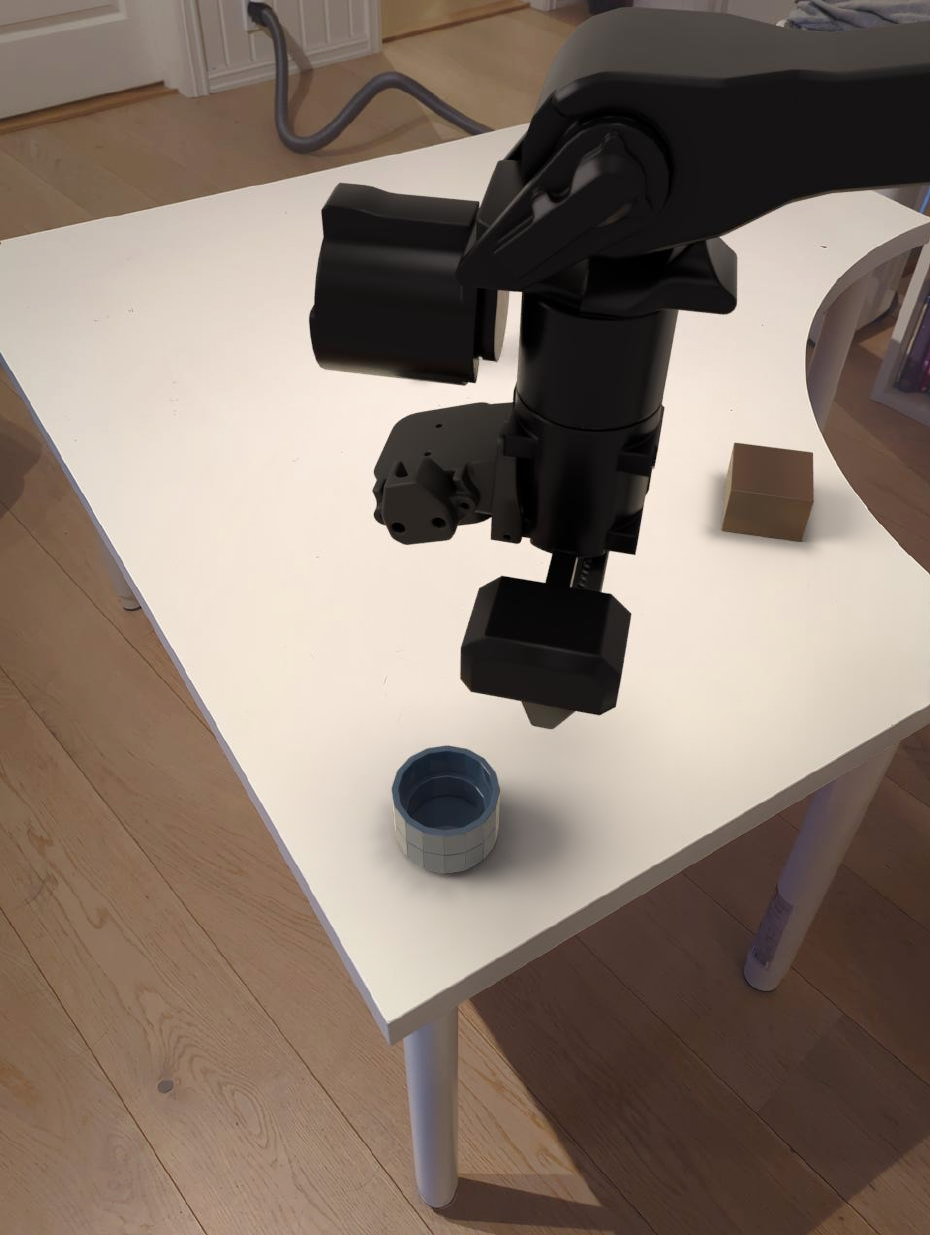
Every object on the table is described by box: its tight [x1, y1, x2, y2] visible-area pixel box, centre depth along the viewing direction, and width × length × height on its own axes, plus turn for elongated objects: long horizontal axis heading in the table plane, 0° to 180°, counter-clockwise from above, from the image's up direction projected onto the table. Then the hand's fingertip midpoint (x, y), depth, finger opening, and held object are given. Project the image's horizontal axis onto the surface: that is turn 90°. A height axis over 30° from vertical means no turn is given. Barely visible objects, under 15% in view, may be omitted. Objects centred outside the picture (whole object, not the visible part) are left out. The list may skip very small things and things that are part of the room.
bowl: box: [391, 745, 501, 875], centre depth 60 cm, size 6×6×4 cm
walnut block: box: [721, 442, 815, 542], centre depth 80 cm, size 6×6×4 cm
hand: (558, 653), depth 52 cm, fingers open, 9 cm apart
